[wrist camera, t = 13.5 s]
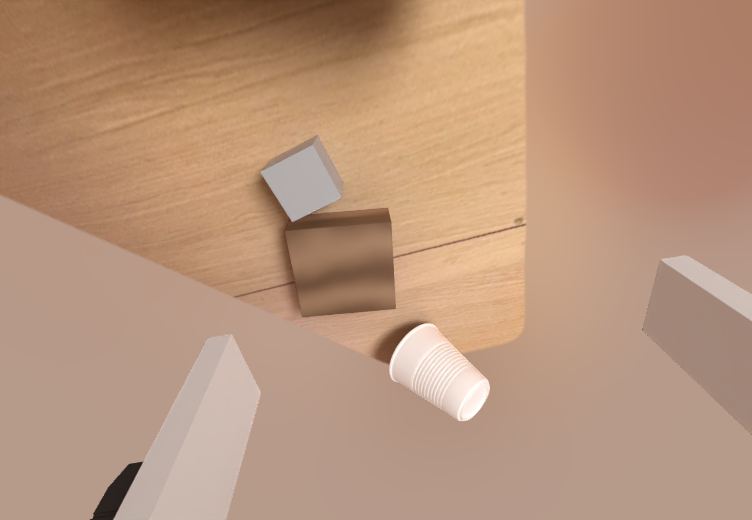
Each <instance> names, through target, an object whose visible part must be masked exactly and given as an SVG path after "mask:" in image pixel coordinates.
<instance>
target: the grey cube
mask: <svg viewBox="0 0 752 520" xmlns="http://www.w3.org/2000/svg"><path fill="white" fill-rule="evenodd" d="M260 173H261V174H262V176H263V177H264V179H265V181H266V182H267V184H268V185H269V187H270V188H271V190H272V191H273V193H274V195H275V196H276V198H277V199H278V201H279V202H280V204H281V205H282V207H283V209H284V210H285V212H286V213H287V215H288V216H289V218H290V219H291V221H292V222H294V221H296V220H298V219H300V218H302V217H304V216H306V215H308V214H310V213H312V212H314V211H316V210H318V209H320V208H322V207H324V206H327V205H329V204H331V203H333V202H335V201H337V200H339V199H341V198H342V191H343V181H342V179H341V177H340V175H339V173H338V171H337V170H336V168H335V166H334V164H333V162H332V160H331V158H330V156H329V155H328V153H327V151H326V149H325V147H324V145H323V143H322V142H321V140H320V138H319V136H318V135H317V136H315V137H313V138H311V139H309V140H307V141H305V142H303V143H302V144H300V145H298V146H296V147H294V148H292V149H290V150H288V151H286V152H284V153H283V154H281V155H279V156H277V157H275V158H273V159H272V160H271V161H270V162H269V163H268V164H267V165H266V166H265V167H264V168H263V170H262V171H261V172H260Z"/></svg>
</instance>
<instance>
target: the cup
mask: <svg viewBox="0 0 752 520" xmlns="http://www.w3.org/2000/svg"><path fill="white" fill-rule="evenodd" d="M389 375H390V377H391V379H392V380H393V381H394V382H397V383H400V384H402V385H403V386H405V387H406V388H408V389H409V390H411V391H413V392H414V393H416V394H418V395H420V396H421V397H423V398H424V399H426V400H427V401H429V402H430V403H432V404H434V405H435V406H437V407H438V408H440V409H442V410H443V411H445V412H446V413H447V414H449V415H451V416H452V417H454V418H455V419H457V420H459V421H467V420H469V419H471V418H472V417H473V416H474V415H475V414H476V413H477V412H478V411H479V409H480V408H481V407H482V405H483V404H484V402H485V400H486V398H487V397H488V394H489V389H490V386H489V382H488V380H487V379H486V378H485V377H484V376H483V375H482V374H481V373H480V372H479V371H478V370H477V369H476V368H475V367H474V366H473V365H472V364H471V363H470V362H469V361H468V360H467V359H466V358H465V357H464V356H463V355H462V354H461V353H460V352H459V351H458V350H457V349H456V348H455V347H454V346H453V345H452V344H451V343H450V342H449V341H448V340H447V339H446V338H445V337H444V336H443V335H442V334H441V333H440V332H439V331H438V329H437V327H436V326H435V325H433V324H430V323H424V324H421V325H419V326H417V327H415V328H414V329H412V330H411V331H410V332H409V333H408V334H407V335H406V336H405V337H404V338H403V339H402V340H401V341H400V343H399V344H398V346H397V347H396V349H395V351H394V353H393V355H392V357H391V360H390V364H389Z"/></svg>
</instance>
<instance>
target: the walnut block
mask: <svg viewBox="0 0 752 520" xmlns="http://www.w3.org/2000/svg"><path fill="white" fill-rule="evenodd" d="M285 235H286V240H287V245H288V250H289V255H290V260H291V265H292V269H293V274H294V279H295V284H296V289H297V294H298V299H299V303H300V308H301V313H302V317H309V316H321V315H332V314H343V313H355V312H366V311H377V310H388V309H396V304H395V285H394V266H393V247H392V227H391V219H390V215H389V211H388V208H380V209H368V210H356V211H344V212H332V213H320V214H309V215H306V216H304V217H302V218H300V219H298V220H296V221H294V222H292V221H291V219H290V220H289V222H288V224H287V227H286V229H285Z"/></svg>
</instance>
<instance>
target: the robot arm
mask: <svg viewBox="0 0 752 520" xmlns="http://www.w3.org/2000/svg"><path fill="white" fill-rule="evenodd" d="M642 330H643V331H644V332H645V333H646V334H647V335H648V336H649V337H650V338H651V339H652V340H653V341H654V342H655V343H656V344H657V345H658V346H659V347H660V348H661V349H662V350H663V351H665V352H666V353H667V354H668V355H669V356H670V357H671V358H672V359H673V360H674V361H675V362H676V363H677V364H678V365H679V366H680V367H681V368H682V369H683V370H684V371H685V372H686V373H688V374H689V375H690V376H691V377H692V378H693V379H694V380H695V381H696V382H697V383H698V384H699V385H700V386H701V387H702V388H703V389H704V390H705V391H706V392H707V393H708V394H710V395H711V396H712V397H713V398H714V399H715V400H716V401H717V402H718V403H719V404H720V405H721V406H722V407H723V408H724V409H725V410H726V411H727V412H729V414H730V415H732V416H733V417H734V418H735V419H736V420H737V421H738V422H739V423H740V424H741V425H742V426H743V427H744V428H745V429H746V430H747V431H748V432H749V433H750V434H751V435H752V294H750V293H748V292H747V291H745V290H743V289H742V288H740V287H738V286H737V285H735V284H733V283H732V282H730V281H728V280H727V279H725V278H723V277H722V276H720V275H718V274H717V273H715V272H713V271H712V270H710V269H708V268H707V267H705V266H704V265H702V264H700V263H699V262H696V261H695V260H694V259H692V258H690V257H688V256H687V255H685V256H679V257H673V258H667V259H662V260H660V262H659V266H658V269H657V273H656V277H655V282H654V285H653V289H652V293H651V297H650V301H649V305H648V309H647V313H646V316H645V321H644V324H643V328H642ZM260 394H261V392H260V390H259V388H258V386H257V384H256V382H255V380H254V378H253V376H252V374H251V372H250V370H249V368H248V366H247V364H246V362H245V360H244V358H243V356H242V354H241V352H240V350H239V348H238V346H237V344H236V342H235V340H234V338H233V336H232V334H227V335H221V336H215V337H210V338H208V339H207V340H206V343H205V344H204V346H203V348H202V350H201V352H200V354H199V356H198V358H197V360H196V362H195V364H194V366H193V368H192V369H191V371H190V373H189V375H188V377H187V379H186V381H185V383H184V385H183V387H182V389H181V391H180V392H179V394H178V396H177V398H176V400H175V402H174V404H173V406H172V408H171V410H170V412H169V414H168V416H167V417H166V419H165V421H164V423H163V425H162V427H161V429H160V431H159V433H158V435H157V437H156V439H155V441H154V442H153V444H152V446H151V448H150V450H149V452H148V454H147V456H146V458H145V460H144V462H138V463H132V464H129V465H128V466H127V467H126V468H125V469H124V470H123V471H122V473H121V474H120V475H119V476H118V477H117V478H116V479H115V480H114V482H113V483H112V484H111V485H110V486H109V487H108V489H107V491H106V492H105V494H104V496H103V498H102V499H101V501H100V503H99V505H98V507H97V508H96V510H95V512H94V513H93V514H94V517H93V519H90V520H226V517H227V513H228V509H229V506H230V502H231V499H232V495H233V492H234V488H235V484H236V481H237V477H238V473H239V470H240V466H241V463H242V459H243V456H244V452H245V448H246V445H247V441H248V438H249V434H250V430H251V427H252V423H253V420H254V416H255V412H256V409H257V405H258V401H259V397H260Z"/></svg>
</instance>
